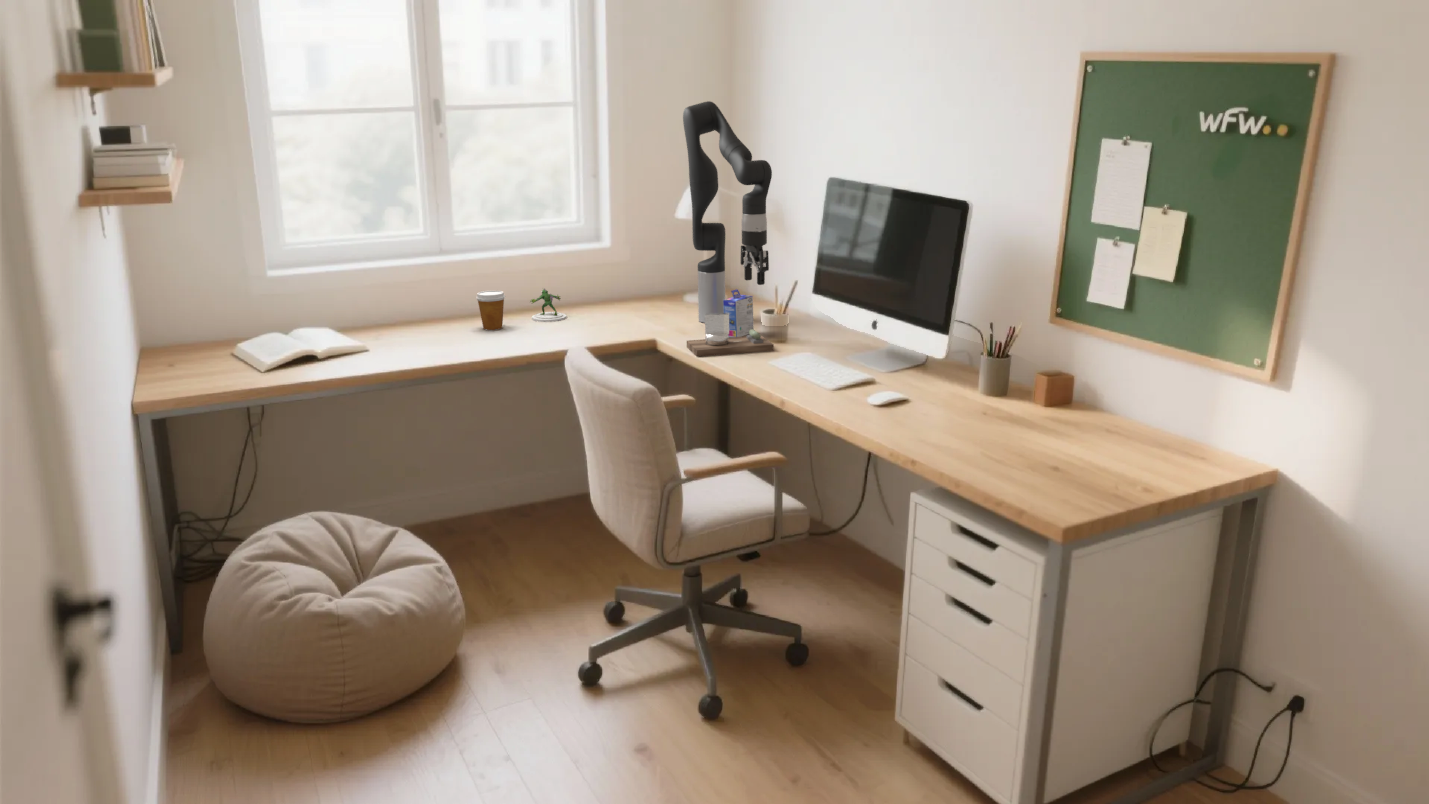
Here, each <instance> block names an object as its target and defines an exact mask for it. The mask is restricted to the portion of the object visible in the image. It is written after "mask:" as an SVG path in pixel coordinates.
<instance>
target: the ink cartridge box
mask: <svg viewBox="0 0 1429 804" xmlns="http://www.w3.org/2000/svg"><path fill="white" fill-rule="evenodd" d="M730 292H731V295H732V296H731V297H729V298H725V300H723V305H724V313H729V334H728V338H730V337H744V336H747V335H750V334H749V331H750V330H751V329H754V328H755V327H754V326H755V325H754V296H753V295H746V294H741V293H740V291H739V289H737V288H736V289H733V290H731V291H730ZM735 293H736V294H735ZM754 330H755V329H754Z"/></svg>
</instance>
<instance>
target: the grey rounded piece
mask: <svg viewBox="0 0 1429 804" xmlns="http://www.w3.org/2000/svg"><path fill="white" fill-rule="evenodd" d="M704 327H705V329H704V334H705V341H706V344H707V345H711V346H722V345H727V344H728V338H729V337H728V334H729V313H722V314H705V323H704Z"/></svg>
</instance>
